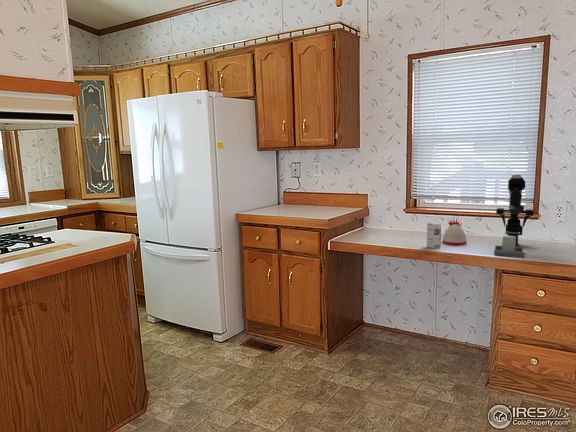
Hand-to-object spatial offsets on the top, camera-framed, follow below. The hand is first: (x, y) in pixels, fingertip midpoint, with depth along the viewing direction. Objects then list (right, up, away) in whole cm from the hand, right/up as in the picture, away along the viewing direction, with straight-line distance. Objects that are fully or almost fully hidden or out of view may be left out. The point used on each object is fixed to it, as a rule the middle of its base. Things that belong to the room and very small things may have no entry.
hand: (513, 226), depth 254 cm
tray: (-7, -14, -8) cm, 18 cm away
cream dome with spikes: (-26, -11, +21) cm, 35 cm away
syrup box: (-42, -12, +12) cm, 45 cm away
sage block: (-7, -14, -8) cm, 17 cm away
